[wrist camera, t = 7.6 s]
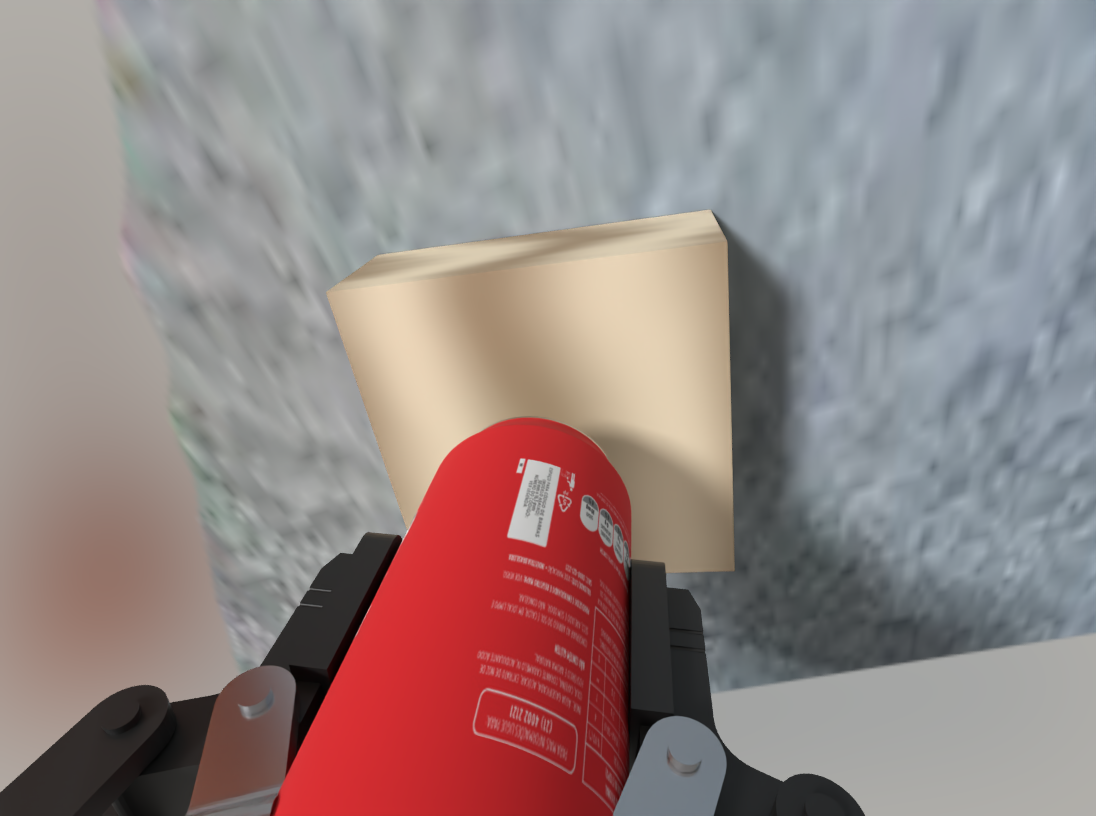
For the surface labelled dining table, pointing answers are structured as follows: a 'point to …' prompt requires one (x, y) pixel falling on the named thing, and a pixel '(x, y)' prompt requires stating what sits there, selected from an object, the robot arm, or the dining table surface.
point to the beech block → (562, 363)
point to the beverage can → (488, 646)
